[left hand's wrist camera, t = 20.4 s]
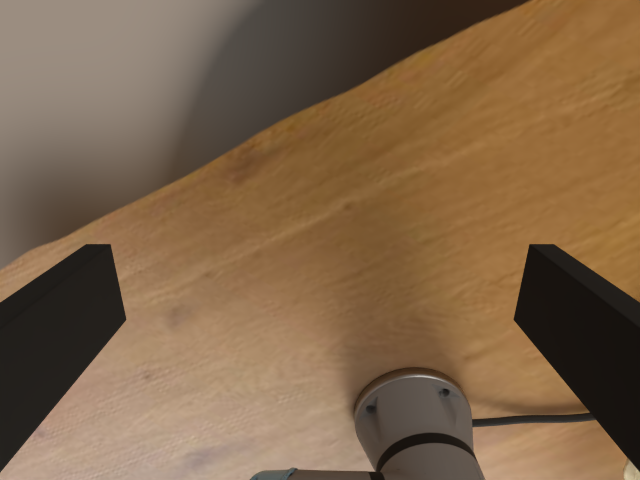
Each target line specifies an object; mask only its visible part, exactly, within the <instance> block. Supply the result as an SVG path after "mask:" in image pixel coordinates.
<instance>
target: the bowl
mask: <svg viewBox="0 0 640 480" xmlns="http://www.w3.org/2000/svg"><path fill="white" fill-rule="evenodd" d="M623 476H624V480H640V472H639V471H638V470H637V468H636V467H635V466H634V465H633V464H632V462H631V461H630V460H629V459H627V461H626V463H625V466H624V469H623Z"/></svg>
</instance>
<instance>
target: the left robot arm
mask: <svg viewBox="0 0 640 480" xmlns="http://www.w3.org/2000/svg"><path fill="white" fill-rule="evenodd" d="M125 321H126V316H125V311H124V306H123V301H122V297H121V292H120V287H119V282H118V278H117V273H116V268H115V263H114V259H113V254H112V249H111V244H86V245H84V246H83V247H81V248H80V249H78V250H77V251H75V252H74V253H73V254H71V255H70V256H68V257H67V258H65V259H64V260H62V261H61V262H59V263H58V264H56V265H55V266H53V267H52V268H50V269H49V270H48V271H46V272H45V273H43V274H42V275H40V276H39V277H37V278H36V279H34V280H33V281H31V282H30V283H28V284H27V285H25V286H24V287H23V288H21V289H20V290H18V291H17V292H15V293H14V294H12V295H11V296H9V297H8V298H6V299H5V300H3V301H2V302H0V472H1V471H2V470H3V468H4V467H5V466H6V465H7V464H8V462H9V461H10V460H11V459H12V458H13V456H14V455H15V454H16V453H17V451H18V450H19V449H20V448H21V447H22V445H23V444H24V443H25V442H26V441H27V439H28V438H29V437H30V436H31V435H32V433H33V432H34V431H35V430H36V428H37V427H38V426H39V425H40V424H41V422H42V421H43V420H44V419H45V418H46V416H47V415H48V414H49V413H50V412H51V410H52V409H53V408H54V407H55V405H56V404H57V403H58V402H59V401H60V399H61V398H62V397H63V396H64V395H65V393H66V392H67V391H68V390H69V389H70V387H71V386H72V385H73V384H74V382H75V381H76V380H77V379H78V378H79V376H80V375H81V374H82V373H83V372H84V370H85V369H86V368H87V367H88V366H89V364H90V363H91V362H92V361H93V359H94V358H95V357H96V356H97V355H98V353H99V352H100V351H101V350H102V349H103V347H104V346H105V345H106V344H107V343H108V341H109V340H110V339H111V338H112V336H113V335H114V334H115V333H116V332H117V330H118V329H119V328H120V327H121V326H122V324H123V323H124V322H125ZM514 321H515V322H516V323H517V324H518V326H519V327H520V328H521V329H522V330H523V332H524V333H525V334H526V335H527V336H528V338H529V339H530V340H531V341H532V343H533V344H534V345H535V346H536V347H537V349H538V350H539V351H540V352H541V353H542V355H543V356H544V357H545V358H546V359H547V361H548V362H549V363H550V364H551V366H552V367H553V368H554V369H555V370H556V372H557V373H558V374H559V375H560V376H561V378H562V379H563V380H564V381H565V382H566V384H567V385H568V386H569V387H570V389H571V390H572V391H573V392H574V393H575V395H576V396H577V397H578V398H579V399H580V401H581V402H582V403H583V404H584V405H585V407H586V408H587V409H588V410H589V412H590V413H584V414H573V415H527V416H511V417H501V418H488V419H472V415H471V409H470V405H469V403H468V401H467V399H466V397H465V394H464V392H463V391H462V389H461V388H460V386H459V385H458V384H457V383H456V382H455V381H454V380H453V379H451V378H450V377H448V376H447V375H445V374H443V373H440V372H438V371H435V370H431V369H425V368H405V369H400V370H396V371H392V372H390V373H387V374H385V375H383V376H381V377H379V378H377V379H376V380H374V381H373V382H372V383H370V384H369V385H368V386H367V387H366V388H365V389H364V391H363V392H362V393H361V395H360V396H359V398H358V400H357V403H356V406H355V411H354V419H355V428H356V433H357V436H358V439H359V441H360V443H361V445H362V447H363V449H364V451H365V453H366V455H367V457H368V459H369V460H370V462H371V464H372V466H373V468H374V470H375V472H367V471H319V470H298V469H297V468H291V469H289V470H273V471H261V472H259V473H257V474H255V475H254V476H253V477H252V478H251V479H250V480H485V478H484V476H483V473H482V471H481V469H480V466H479V464H478V462H477V459H476V457H475V454H474V451H473V431H472V427H484V426H498V425H508V424H519V423H567V422H582V421H591V420H597V421H598V422H599V424H600V425H601V426H602V427H603V428H604V430H605V431H606V432H607V433H608V435H609V436H610V437H611V438H612V439H613V441H614V442H615V443H616V444H617V445H618V447H619V448H620V449H621V450H622V451H623V453H624V454H625V455H626V456H627V458H628V459H629V460H630V461H631V462H632V464H633V465H634V466H635V467H636V468H637V470H638V471H639V472H640V302H638V301H637V300H635V299H634V298H632V297H631V296H629V295H628V294H626V293H625V292H623V291H622V290H620V289H619V288H617V287H616V286H615V285H613V284H612V283H610V282H609V281H607V280H606V279H604V278H603V277H601V276H600V275H598V274H597V273H595V272H594V271H592V270H591V269H590V268H588V267H587V266H585V265H584V264H582V263H581V262H579V261H578V260H576V259H575V258H573V257H572V256H570V255H569V254H567V253H566V252H565V251H563V250H562V249H560V248H559V247H557V246H556V245H554V244H529V249H528V254H527V259H526V263H525V268H524V273H523V278H522V282H521V287H520V292H519V297H518V301H517V306H516V311H515V316H514Z"/></svg>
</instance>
